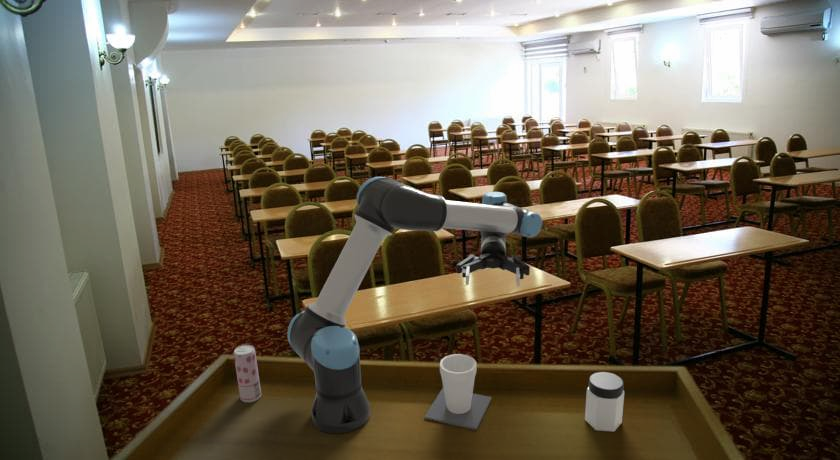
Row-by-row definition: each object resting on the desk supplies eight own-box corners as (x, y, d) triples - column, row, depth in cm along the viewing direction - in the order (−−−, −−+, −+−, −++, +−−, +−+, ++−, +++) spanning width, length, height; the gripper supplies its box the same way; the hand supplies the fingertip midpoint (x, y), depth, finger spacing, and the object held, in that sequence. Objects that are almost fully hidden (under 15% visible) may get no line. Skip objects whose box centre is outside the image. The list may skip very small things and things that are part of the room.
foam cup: (474, 419, 155) (474, 375, 151) (438, 416, 157) (437, 372, 153) (478, 397, 164) (477, 355, 160) (444, 394, 166) (443, 352, 162)
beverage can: (240, 393, 171) (233, 346, 166) (261, 389, 172) (255, 342, 167) (240, 404, 166) (232, 356, 161) (261, 401, 167) (254, 353, 162)
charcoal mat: (424, 418, 157) (424, 416, 157) (442, 389, 169) (442, 387, 169) (476, 430, 152) (476, 428, 152) (491, 399, 164) (491, 397, 164)
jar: (628, 428, 151) (632, 386, 147) (600, 436, 149) (603, 394, 145) (605, 407, 159) (609, 367, 155) (579, 415, 157) (581, 374, 153)
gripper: (535, 265, 183) (539, 295, 163) (451, 263, 186) (446, 292, 166) (535, 241, 180) (540, 268, 160) (451, 240, 183) (445, 266, 163)
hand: (492, 280), depth 163 cm, fingers open, 13 cm apart
